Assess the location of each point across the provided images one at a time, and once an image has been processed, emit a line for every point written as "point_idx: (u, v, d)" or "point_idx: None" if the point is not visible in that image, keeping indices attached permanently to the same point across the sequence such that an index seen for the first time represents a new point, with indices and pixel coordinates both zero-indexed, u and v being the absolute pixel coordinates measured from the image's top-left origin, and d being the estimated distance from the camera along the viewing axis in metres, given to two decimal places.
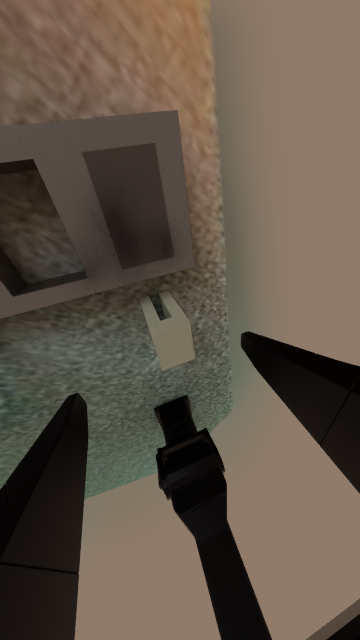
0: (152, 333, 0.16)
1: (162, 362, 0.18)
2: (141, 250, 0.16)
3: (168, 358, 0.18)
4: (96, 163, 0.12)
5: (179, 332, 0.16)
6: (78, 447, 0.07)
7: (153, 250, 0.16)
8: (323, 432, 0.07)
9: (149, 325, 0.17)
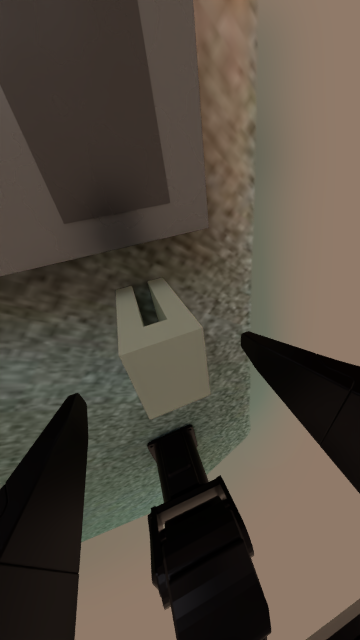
0: (123, 355, 0.07)
1: (149, 406, 0.09)
2: (102, 182, 0.08)
3: (159, 399, 0.09)
4: None
5: (181, 350, 0.08)
6: (78, 447, 0.07)
7: (128, 185, 0.08)
8: (323, 432, 0.07)
9: (120, 336, 0.08)
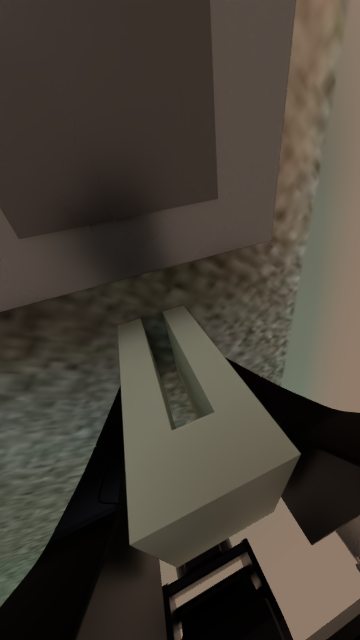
0: (138, 538, 0.03)
1: (178, 560, 0.05)
2: (94, 156, 0.04)
3: (197, 547, 0.05)
4: None
5: (252, 492, 0.04)
6: None
7: (144, 163, 0.04)
8: None
9: (130, 458, 0.04)
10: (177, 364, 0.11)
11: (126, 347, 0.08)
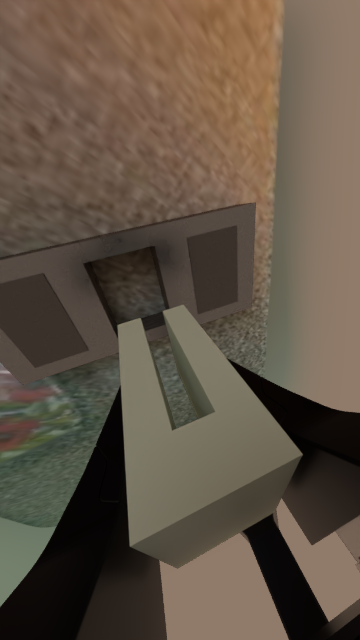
0: (139, 539, 0.03)
1: (179, 561, 0.05)
2: (214, 298, 0.20)
3: (198, 547, 0.05)
4: (194, 243, 0.17)
5: (253, 492, 0.04)
6: None
7: (223, 298, 0.20)
8: None
9: (130, 459, 0.04)
10: (177, 364, 0.11)
11: (126, 347, 0.08)
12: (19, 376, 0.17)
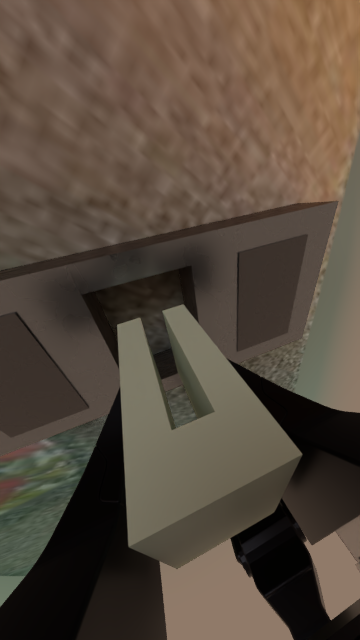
0: (137, 540, 0.03)
1: (178, 561, 0.05)
2: (260, 331, 0.15)
3: (198, 548, 0.05)
4: (247, 260, 0.11)
5: (252, 492, 0.04)
6: None
7: (270, 329, 0.15)
8: None
9: (129, 459, 0.04)
10: (177, 364, 0.11)
11: (126, 346, 0.08)
12: None
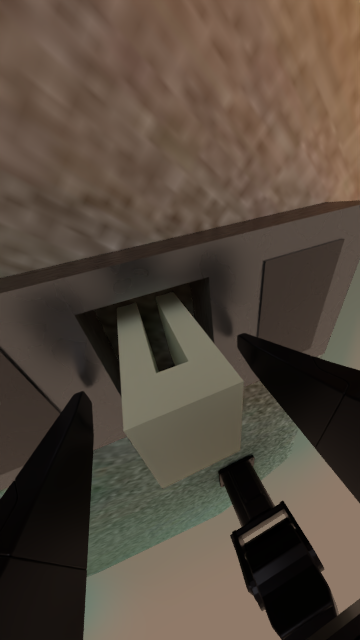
0: (129, 428, 0.05)
1: (162, 476, 0.07)
2: None
3: (177, 466, 0.07)
4: (273, 270, 0.09)
5: (211, 411, 0.06)
6: (84, 444, 0.07)
7: (292, 345, 0.13)
8: (318, 434, 0.07)
9: (125, 390, 0.06)
10: (168, 344, 0.12)
11: (123, 323, 0.09)
12: None
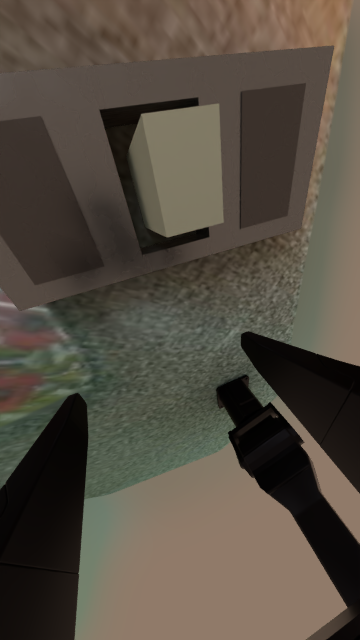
0: (145, 115, 0.08)
1: (166, 214, 0.10)
2: (261, 207, 0.16)
3: (176, 206, 0.10)
4: (249, 104, 0.12)
5: (198, 133, 0.08)
6: (78, 447, 0.07)
7: (271, 208, 0.16)
8: (323, 431, 0.07)
9: None
10: None
11: None
12: (14, 297, 0.13)
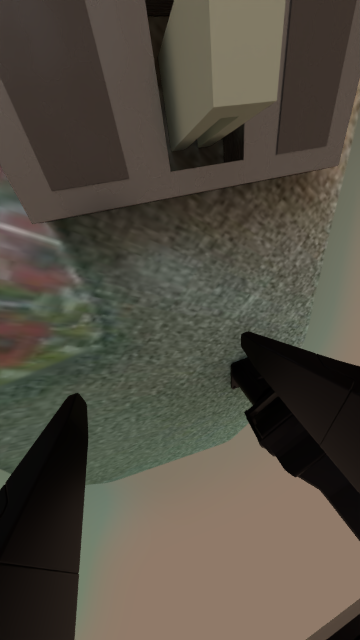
0: None
1: (217, 70, 0.08)
2: (301, 130, 0.14)
3: (229, 61, 0.08)
4: None
5: None
6: (78, 447, 0.07)
7: (311, 133, 0.15)
8: (323, 431, 0.07)
9: None
10: None
11: None
12: (27, 204, 0.11)
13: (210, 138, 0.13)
